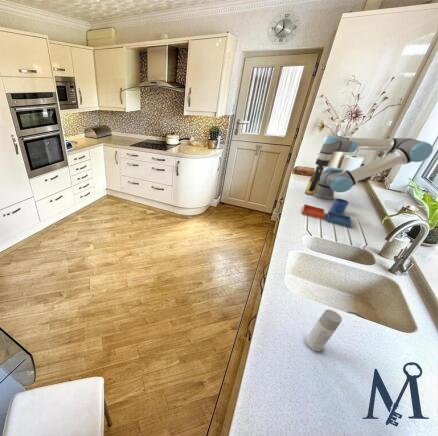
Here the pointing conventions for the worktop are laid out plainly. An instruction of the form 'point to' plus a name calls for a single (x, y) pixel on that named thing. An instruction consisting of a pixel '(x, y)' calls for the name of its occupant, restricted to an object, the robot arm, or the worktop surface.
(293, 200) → the worktop surface
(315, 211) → the red tray
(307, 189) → the sauce bottle
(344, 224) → the blue tray
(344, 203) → the blue cup
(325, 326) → the container
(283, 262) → the worktop surface
